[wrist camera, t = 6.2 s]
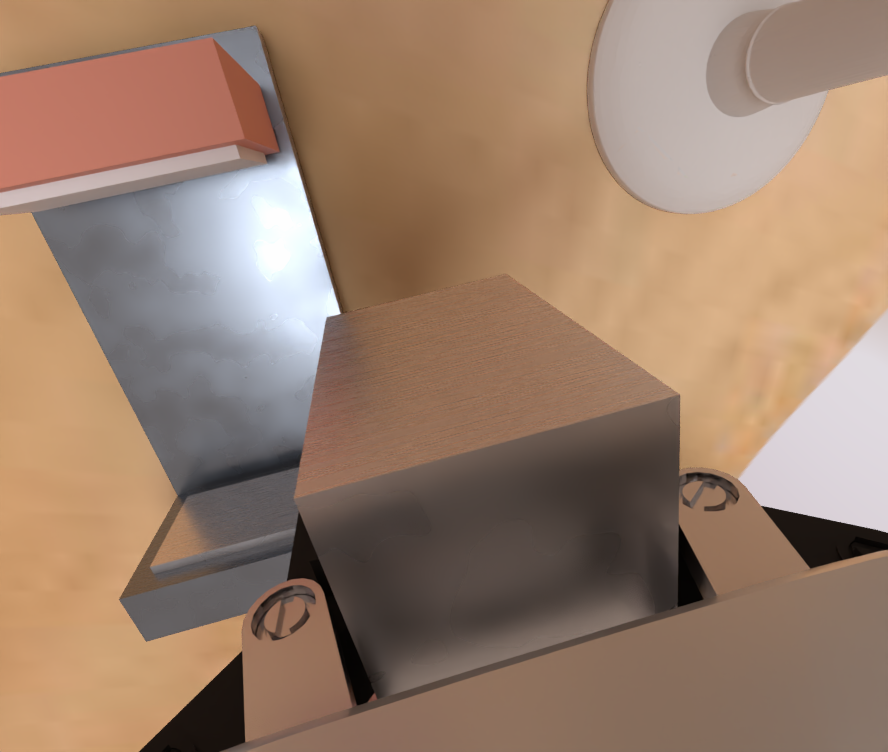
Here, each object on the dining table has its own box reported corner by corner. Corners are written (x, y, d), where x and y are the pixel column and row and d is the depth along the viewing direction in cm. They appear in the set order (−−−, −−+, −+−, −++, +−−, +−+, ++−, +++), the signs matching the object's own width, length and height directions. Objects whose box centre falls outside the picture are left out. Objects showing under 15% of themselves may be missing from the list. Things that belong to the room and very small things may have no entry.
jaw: (259, 84, 19) (212, 37, 13) (283, 162, 21) (249, 153, 14) (1, 135, 19) (-185, 111, 12) (40, 212, 20) (-111, 227, 13)
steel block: (506, 273, 12) (680, 394, 6) (537, 496, 15) (676, 740, 8) (326, 317, 12) (293, 498, 5) (395, 535, 14) (428, 821, 8)
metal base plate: (262, 35, 20) (204, -54, 13) (387, 466, 29) (399, 570, 21) (-10, 87, 19) (-253, 25, 12) (204, 514, 28) (146, 641, 20)
